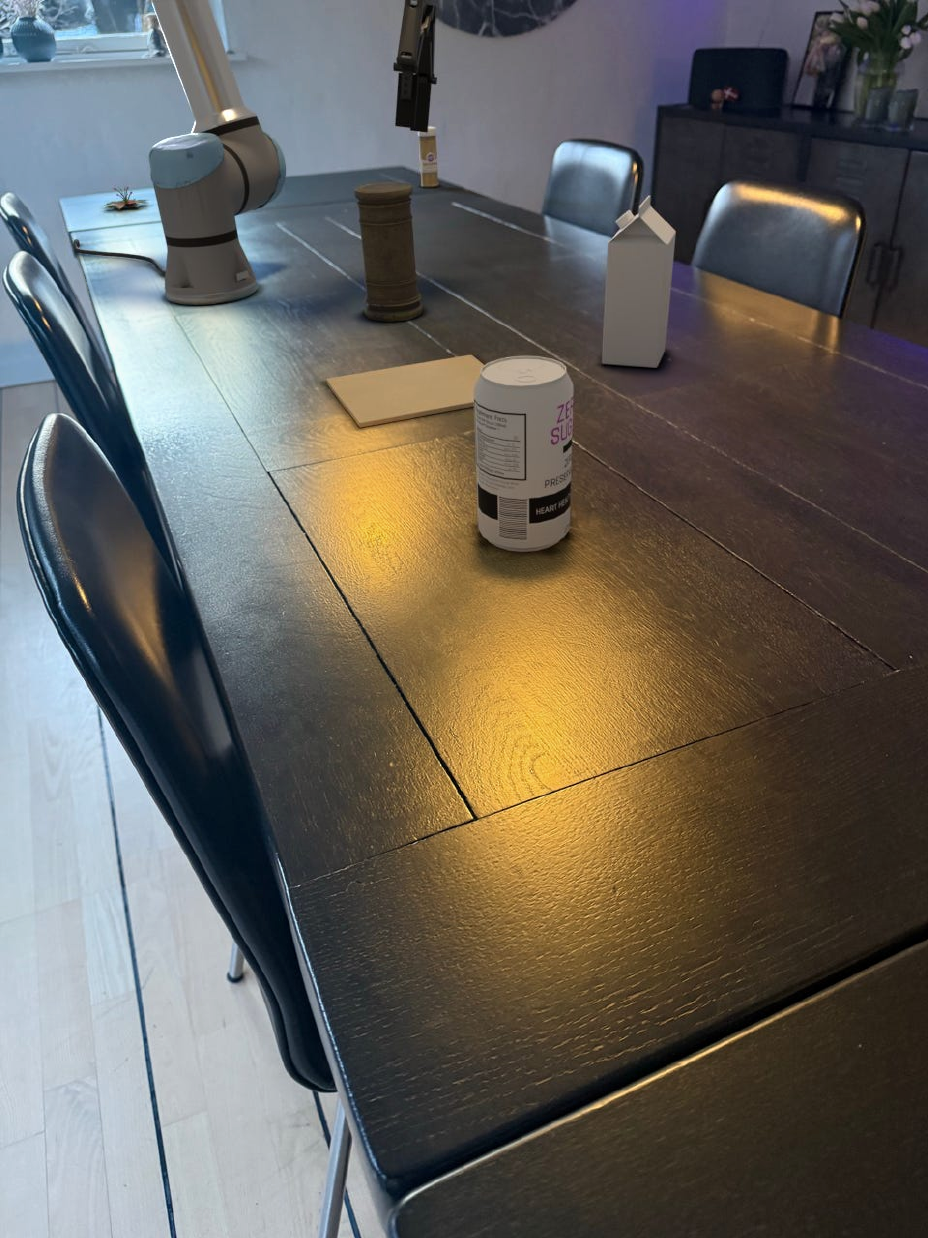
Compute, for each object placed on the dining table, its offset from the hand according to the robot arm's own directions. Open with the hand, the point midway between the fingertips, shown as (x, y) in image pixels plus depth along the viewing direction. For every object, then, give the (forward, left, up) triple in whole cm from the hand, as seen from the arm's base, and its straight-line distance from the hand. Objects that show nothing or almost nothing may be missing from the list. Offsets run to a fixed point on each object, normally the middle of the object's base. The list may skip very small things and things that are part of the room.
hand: (412, 129), depth 133 cm
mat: (+41, -14, -24) cm, 49 cm away
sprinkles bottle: (-95, +35, -24) cm, 104 cm away
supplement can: (+79, -17, -24) cm, 84 cm away
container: (+8, -7, -24) cm, 26 cm away
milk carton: (+43, +15, -24) cm, 51 cm away
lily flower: (-113, -39, -24) cm, 122 cm away
